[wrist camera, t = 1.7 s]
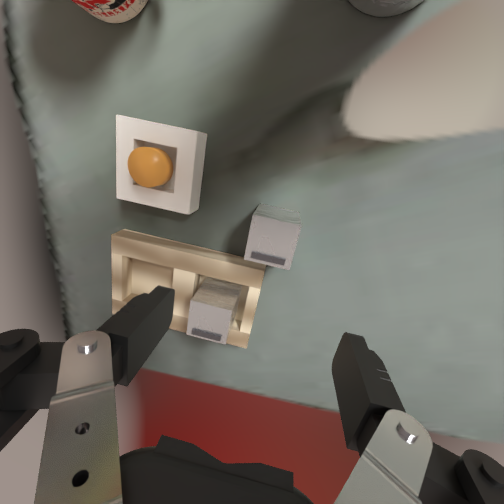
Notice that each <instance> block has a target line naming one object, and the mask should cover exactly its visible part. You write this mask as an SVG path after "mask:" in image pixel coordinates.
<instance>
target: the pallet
mask: <svg viewBox="0 0 504 504" xmlns="http://www.w3.org/2000/svg"><path fill="white" fill-rule="evenodd" d="M111 251H112V314H115V313H116V312H118V311H120V309H121V308H122V307H123V306H124V305H126V304H127V303H128V302H129V301H130V300H131V299H132V298H133V297H136V296H138V295H140V294H142V293H147V294H149V293H150V292H151V291H152V290H153V289H154V288H155V287H157V286H158V285H160V286H164V287H168V288H172V289H174V290H175V298H174V309H173V318H172V322H171V324H170V327H169V328H170V329H173V330H177V331H181V332H185V333H187V325H188V317H189V308H190V300H191V299H192V297H193V296H194V295H195V293H196V292H197V290H198V289H199V287H200V286H201V285H202V283H203V282H204V280H205V279H206V277H207V276H208V277H213V278H217V279H221V280H225V281H229V282H233V283H237V284H241V285H242V289H241V293H240V298H239V303H238V308H237V313H236V316H235V319H234V322H233V325H232V327H231V330H230V333H229V336H228V339H227V342H226V343H227V344H231V345H235V346H239V347H243V348H247V344H248V340H249V336H250V332H251V327H252V323H253V319H254V315H255V310H256V306H257V302H258V298H259V294H260V289H261V285H262V281H263V277H264V272H265V268H266V265H265V264H261V263H257V262H253V261H248V260H244V257H241V256H237V255H233V254H229V253H224V252H220V251H216V250H212V249H207V248H203V247H199V246H195V245H191V244H186V243H182V242H178V241H174V240H169V239H165V238H161V237H157V236H152V235H148V234H144V233H140V232H136V231H131V230H127V229H123V230H121V231H118V232H116V233H114V234H111Z"/></svg>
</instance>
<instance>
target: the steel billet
mask: <svg viewBox="0 0 504 504" xmlns="http://www.w3.org/2000/svg"><path fill="white" fill-rule="evenodd" d="M301 226H302V224H301V218H300V212H297V211H293V210H288V209H284V208H279V207H275V206H270V205H266V204H261V203H260V204H259V206H258V207H257V209H256V210H255V212H254V213H253V216H252V221H251V226H250V231H249V236H248V241H247V246H246V251H245V256H244V260H248V261H253V262H257V263H261V264H265V265H270V266H274V267H278V268H282V269H286V270H290V266H291V263H292V259H293V255H294V252H295V248H296V244H297V241H298V237H299V234H300V230H301Z"/></svg>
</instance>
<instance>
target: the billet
mask: <svg viewBox="0 0 504 504" xmlns="http://www.w3.org/2000/svg"><path fill="white" fill-rule="evenodd" d="M241 289H242V285H241V284H237V283H233V282H229V281H225V280H221V279H217V278H213V277H208V276H207V277H206V279H205V280H204V282H203V283H202V285H201V286H200V287H199V289H198V290H197V292H196V293H195V295H194V296H193V297H192V299H191V300H190V308H189V317H188V325H187V333H186V335H190V336H194V337H198V338H202V339H206V340H209V341H213V342H217V343H221V344H225V345H226V342H227V339H228V336H229V333H230V330H231V327H232V325H233V322H234V319H235V316H236V313H237V308H238V303H239V298H240V293H241Z"/></svg>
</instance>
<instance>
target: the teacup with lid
mask: <svg viewBox="0 0 504 504" xmlns="http://www.w3.org/2000/svg"><path fill="white" fill-rule="evenodd" d="M72 1H73V2H74V3H76V4H77V5H79V6H80V7H81V8H83V9H84V10H86V11H87V12H88V13H90V14H91V15H93V16H94V17H96V18H98V19H100V20H102V21H105V22H109V23H122V22H126V21H128V20H130V19H132V18H134V17H135V16H136V15H137V14H139V12H140V11H141V10H142V9H143V8H144V6H145V5H146V3H147V1H148V0H72Z"/></svg>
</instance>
